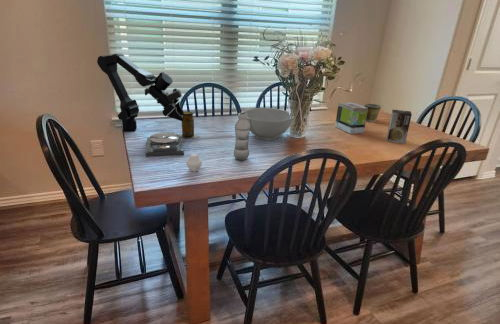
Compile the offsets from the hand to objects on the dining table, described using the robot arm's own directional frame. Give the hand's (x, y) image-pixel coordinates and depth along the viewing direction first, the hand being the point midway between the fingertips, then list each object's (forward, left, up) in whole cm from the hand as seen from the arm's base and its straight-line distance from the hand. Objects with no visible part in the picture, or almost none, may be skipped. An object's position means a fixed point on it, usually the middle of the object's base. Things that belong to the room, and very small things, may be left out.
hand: (183, 118), depth 162 cm
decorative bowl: (+42, -6, -10) cm, 44 cm away
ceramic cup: (+119, +18, -10) cm, 121 cm away
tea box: (+94, 0, -10) cm, 95 cm away
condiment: (+2, 0, -10) cm, 10 cm away
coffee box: (+109, -22, -10) cm, 112 cm away
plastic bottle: (+22, -34, -10) cm, 42 cm away
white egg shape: (+1, -43, -10) cm, 44 cm away
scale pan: (-10, -13, -6) cm, 18 cm away
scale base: (-10, -16, -9) cm, 21 cm away
